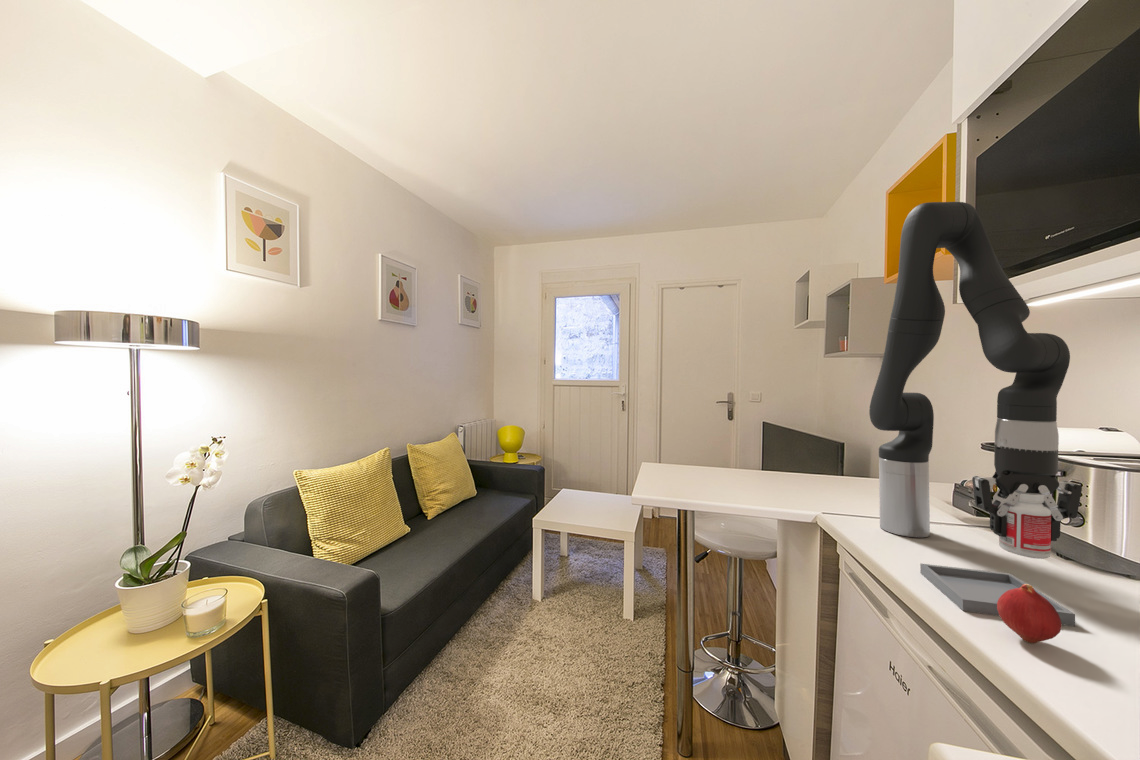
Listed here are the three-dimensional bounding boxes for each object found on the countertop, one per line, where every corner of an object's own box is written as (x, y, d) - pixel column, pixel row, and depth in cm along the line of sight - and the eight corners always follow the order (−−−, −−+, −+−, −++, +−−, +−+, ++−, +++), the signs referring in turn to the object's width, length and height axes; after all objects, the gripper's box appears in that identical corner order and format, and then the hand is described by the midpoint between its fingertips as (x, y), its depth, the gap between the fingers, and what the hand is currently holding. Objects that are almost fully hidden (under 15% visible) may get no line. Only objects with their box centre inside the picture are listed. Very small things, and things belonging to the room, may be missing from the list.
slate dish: (920, 573, 75) (920, 563, 75) (1010, 583, 70) (1010, 573, 70) (962, 610, 62) (962, 599, 62) (1075, 626, 58) (1075, 614, 58)
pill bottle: (1056, 555, 70) (1057, 493, 70) (1043, 563, 67) (1044, 498, 67) (1005, 541, 76) (1006, 484, 75) (992, 548, 73) (993, 488, 73)
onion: (994, 623, 59) (993, 569, 59) (1054, 639, 55) (1053, 581, 55) (1002, 643, 54) (1001, 585, 55) (1068, 662, 51) (1067, 599, 51)
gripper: (1060, 442, 72) (1059, 533, 73) (961, 439, 77) (960, 525, 77) (1100, 451, 65) (1097, 551, 66) (988, 446, 70) (987, 541, 70)
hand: (1023, 536), depth 72 cm, fingers closed on pill bottle, 6 cm apart
